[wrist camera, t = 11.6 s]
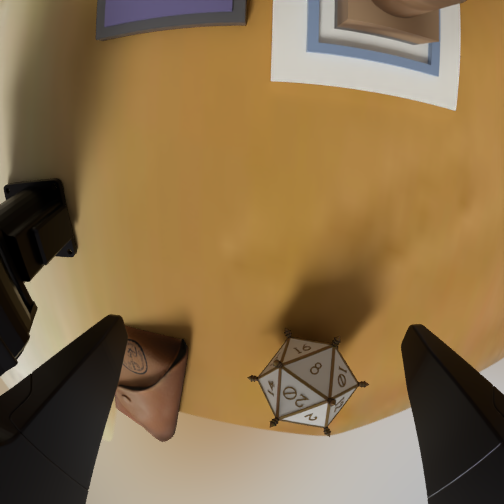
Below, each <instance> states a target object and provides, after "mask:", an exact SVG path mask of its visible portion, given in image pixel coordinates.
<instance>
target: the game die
mask: <svg viewBox="0 0 504 504" xmlns="http://www.w3.org/2000/svg"><path fill="white" fill-rule="evenodd" d="M290 331H291V330H288V329H287V328H285V332H284V333H285V334H286V335H285V336H287V338H288V339H287V340H286V341H285V343H284V344H283V345H282V347H281V348H280V349H279V351H278V352H277V353H276V354H275V356H274V357H273V358H272V360H271V361H270V362H269V364H268V365H267V366H266V367H265V369H264V370H263V371H262V372H261V374H260V375H259V376H258V377H256V376H253V375H251V376H250V377H247V378H248V379H249V380H251V382H252V381H254V382H255V381H258V382H259V385H260V387H261V389H262V391H263V393H264V395H265V397H266V399H267V401H268V403H269V405H270V408H271V410H272V412H273V414H274V416H275V418H274V419H272V421H270V427H273V426H276V424H278V421H284V422H290V423H295V424H301V425H307V426H313V427H320V428H324V432H325V434H326V435H327V436H329V437H330V432H331V431H330V429H329V428H328V425H329V424H330V423H331V422H332V420H333V419H334V418H335V416H336V415H337V414H338V413H339V411H340V410H341V409H342V407H343V406H344V405H345V403H346V402H347V401H348V399H349V398H350V397H351V395H352V394H353V393H354V391H355V390H356V389H357V387H358V386H360V387H364V388H365V387H366V386H368V385H369V384H368V383H366V382H365V381H364V382H362V381H361V382H358V381H357V379H356V378H355V376H354V374H353V373H352V371H351V370H350V368H349V366H348V365H347V363H346V361H345V360H344V358H343V357H342V355H341V353H340V352H339V350H338V344H339V342H340V336H338V337H336V338H334V340H333V343H332V344H331V343H325V342H319V341H313V340H306V339H301V338H295V337H291V334H292V333H291V332H290Z"/></svg>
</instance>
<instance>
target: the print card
mask: <svg viewBox="0 0 504 504" xmlns="http://www.w3.org/2000/svg"><path fill="white" fill-rule="evenodd" d="M334 12H335V0H273V22H272V58H271V81H279V82H295V83H307V84H318V85H327V86H336V87H344V88H351V89H358V90H364V91H370V92H376V93H382V94H387V95H392V96H397V97H402V98H407V99H411V100H416V101H420V102H424V103H428V104H432V105H436V106H440V107H444V108H447V109H451V110H454V111H456V105H457V95H458V83H459V68H460V4H456V5H452V6H448V7H445V8H441V9H439V42H432V43H425V44H418V45H411V44H408V43H404V42H400V41H396V40H392V39H387V38H383V37H378V36H374V35H369V34H364V33H358V32H353V31H347V30H340V29H334Z"/></svg>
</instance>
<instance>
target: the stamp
mask: <svg viewBox="0 0 504 504" xmlns="http://www.w3.org/2000/svg"><path fill="white" fill-rule="evenodd" d="M465 1H466V0H335V12H334V29H340V30H347V31H353V32H358V33H364V34H369V35H374V36H378V37H383V38H387V39H392V40H396V41H400V42H404V43H408V44H411V45H418V44H425V43H432V42H439V9H441V8H445V7H448V6H452V5H456V4H460V3H463V2H465Z"/></svg>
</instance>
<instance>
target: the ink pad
mask: <svg viewBox="0 0 504 504" xmlns="http://www.w3.org/2000/svg"><path fill="white" fill-rule="evenodd" d="M246 8H247V0H98V2H97V19H96V40H101V41H104V40H109V39H114V38H119V37H124V36H129V35H135V34H141V33H148V32H154V31H162V30H170V29H180V28H191V27H206V26H232V25H246Z"/></svg>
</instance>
